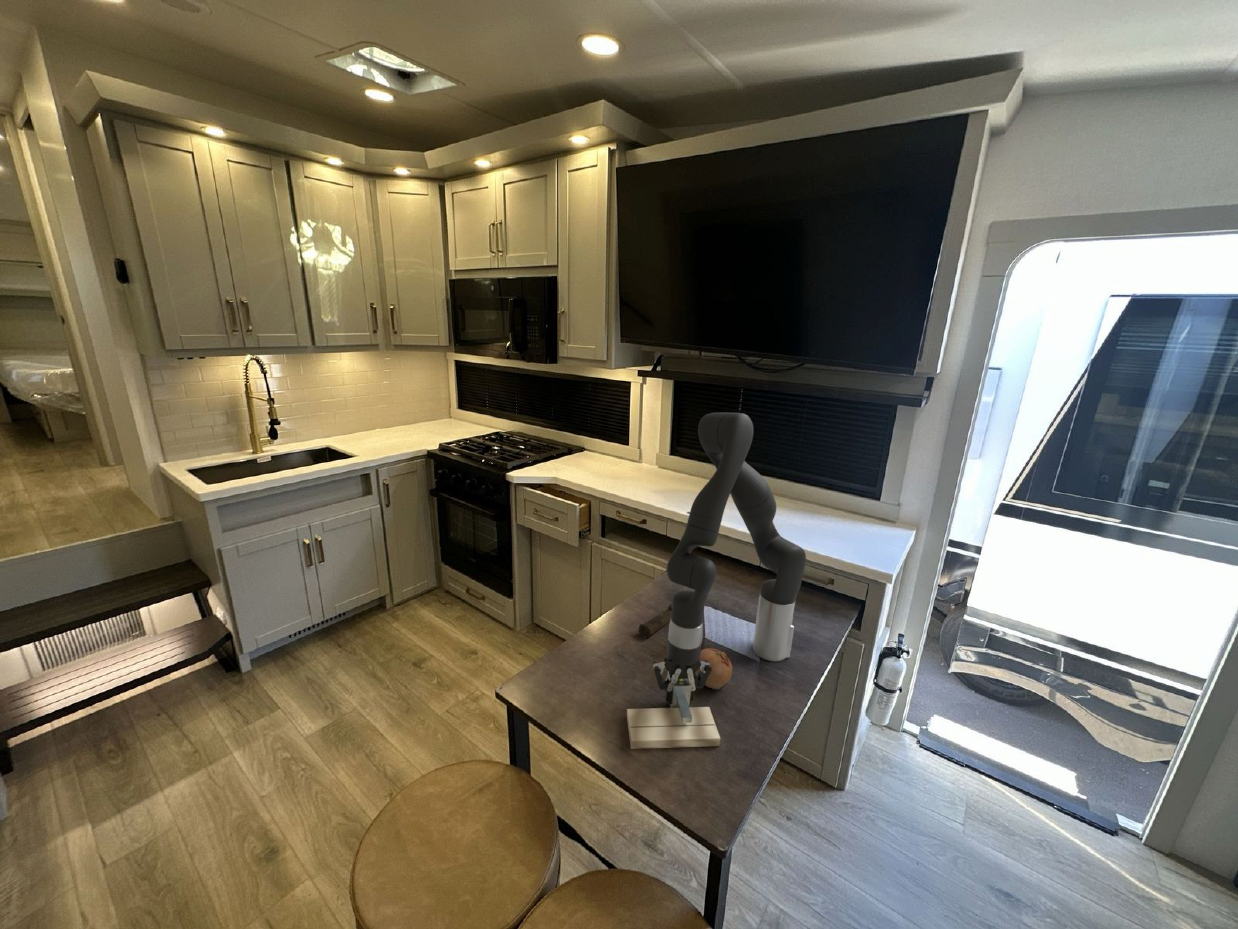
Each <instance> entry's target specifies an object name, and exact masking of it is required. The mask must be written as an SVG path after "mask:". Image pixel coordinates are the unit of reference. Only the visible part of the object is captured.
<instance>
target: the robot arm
mask: <svg viewBox="0 0 1238 929" xmlns="http://www.w3.org/2000/svg"><path fill="white" fill-rule="evenodd" d="M697 426H698V428H697V433H698V439H699V442H700V445H701V447H702V448H703V450H704V452H705V454H706V456H708V458H709V459H710V461H711V463H712V464H713V465H714V467H715V469H716V471H715V472H714V473H713V475H712V476H711V478H709V481H707V483H705V485H704V486H703V487H702V489H701V490H700V491H699V492H698V494H697V495H696V496H695V498H694V500H693V502H692V504H691V507H690V510H689V515H688V518H687V522H686V525H685V530H684V532H683V535H682V536H681V539H680V540H679V542H678V545H677V546H676V548H675V549H674V551H673V553H672V554H671V556H670V558H669V559H668V563H667V564H666V576H667V577H668V580H669V581H671V583H674V584H677V585H680V586H683V587H686V588H689V589H691V591H690V590H683V591H682V590H681V591H678V592H676V593H675V594H674V596H672V602H671V604H672V612H671V620H670V622H669V624H668V634H667V636H668V637H667V646H666V656H665V658H664V660H663V661H661V662H658V661H656V660H655V661H653V662H652V668H653V672H654V676H655V678H656V682H657V685H658V688H659V689H660V690H664V698H665V699H664V700H665V702H666V703H668V705H670V704H671V703H672V692H673V691H672V689H673V684H676V681H677V679H680V678H685V679H688V681H689V684H691V695H690V704H692V702H693V701H694V700H695V693H696V692H695V691H696V689H703V688H704V686H705V685H704V684H705V682H706V681H707V679H708V677H709V675H710V673H711V671H712V668H711V665H710V663H709V661H708V660H706V661H705V662H703V661H700V652H701V651H702V641H703V636H704V635H703V633H704V630H703V629H704V628H703V627H704V626H703V625H704V624H703V623H704V622H703V621H704V612H705V605H706V602H707V600H708V596H709V594H710V592H711V589H712V587H713V586H714V583H715V581H716V578H717V574H718V573H717V572H718V571H717V568H716V565H715V563H714V561H712V560H711V559H710V558H706V557H703V556H700V555H696V554H692V552H693V550H695V548H697V547H713V546H715V544H716V543H717V539H718V536H719V532H720V527H721V525H722V520H723V517H724V513H725V509H726V505H727V503H728V500H729V497H730V496H731V499H732V501H733V503H734V505H735V507H736V509H737V511H738V513H739V515H740V517H741V518H742V520H743V523H744V525H745V527H746V528H747V530H748V532H749V535H750V536H751V539H752V542H753V545H754V548H755V551H756V555H757V557H758V559H759V561H760V563H761V564H762V566H764V567H765V568H766V569H768V570H770V571H771V572H773V573H774V574H776V578H773V579H767V580H765V581H762V583H761V585H760V591H759V598H758V605H757V613H756V619H755V620H756V621H755V625H754V626H755V627H754V633H753V641H752V651H753V652H754V654H756V655H757V656H758V657H759V658H761V659H763V660H767V661H770V662H781V661H784V660H785V659H786V658H790V657H791V650H792V645H793V638H794V631H795V626H794V625H793V618H794V616H793V615H794V611H795V607H796V606H795V605H796V600H797V596H798V594H799V591H800V589H801V585H802V580H803V577H804V572H805V567H806V561H807V555H806V552H805V549H804V548H802V546H799V545H798V544H796V543H794V542H793V541H792V542H791V541H790V540H788V539H786V538H785V537H783V536H781V534H780V533H779V532H778V530H777V528H776V526H775V524H774V519H775V516H776V513H777V503H776V499H775V497H774V494H773V492H772V490H771V486H769V484H768V482H767V481H766V479H765V478H764V476H762V475H761V474H760V473H759V472H758V471H757V470H756V469H754V468H753V467H752V466H751V465H750V464H748V463H747V461H746V457H747V456H748V453H749V450H750V448H751V445H752V442H753V438H754V424H753V421H752V420H751V418H750V417H749V415H747V414H745V413H742V412H741V413H740V412H710V413H706V414H705V415H703V417H701V419H700V421H699V423H698V425H697ZM693 590H694V591H693ZM699 668H700V671H699V673H698V676H696V677H694V674H696V673H695V672H696V671H697V670H698V669H699ZM664 669H666V671H667V676H666V678H665V679H663V676H662V674H663V673H664ZM690 704H689V705H690Z"/></svg>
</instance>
